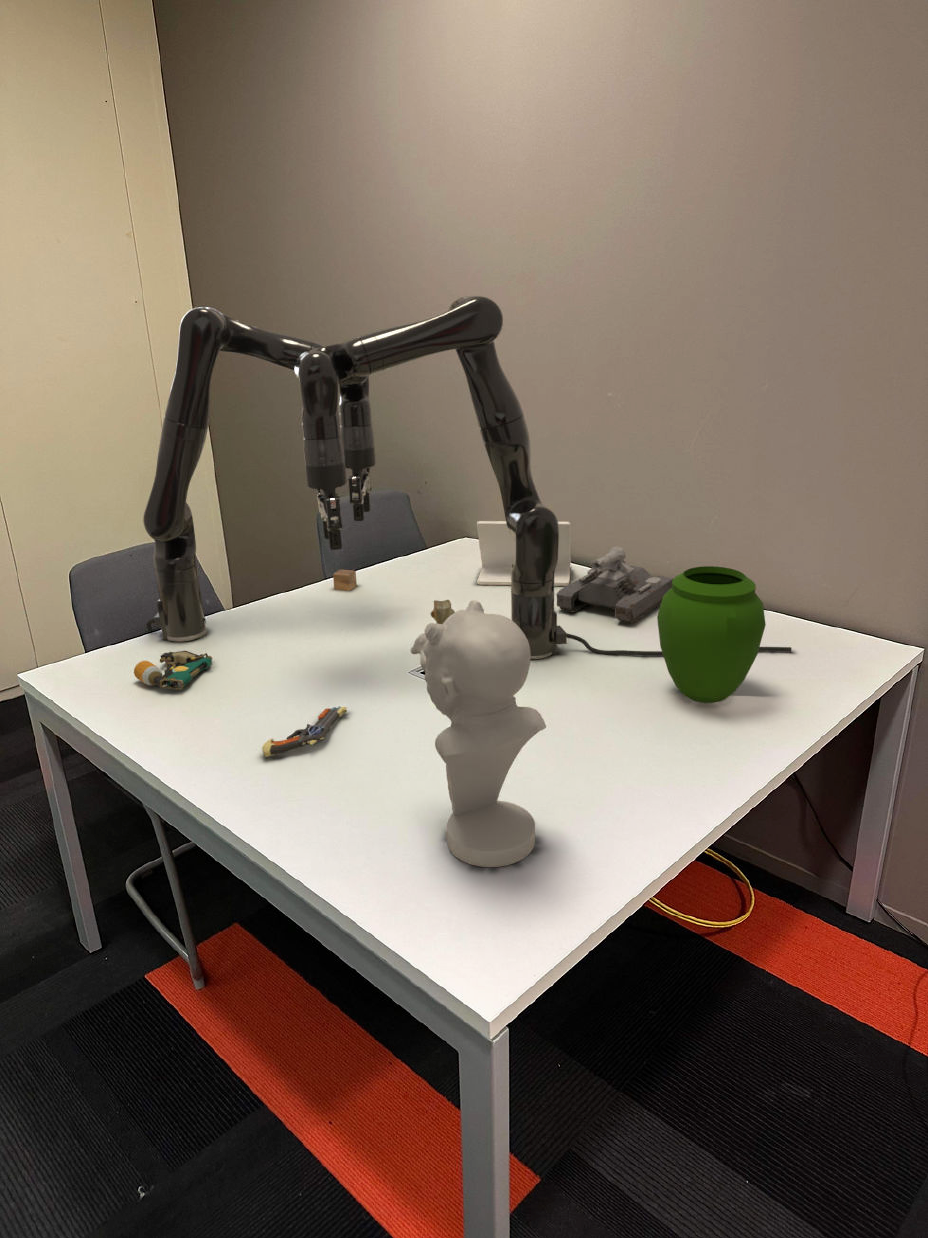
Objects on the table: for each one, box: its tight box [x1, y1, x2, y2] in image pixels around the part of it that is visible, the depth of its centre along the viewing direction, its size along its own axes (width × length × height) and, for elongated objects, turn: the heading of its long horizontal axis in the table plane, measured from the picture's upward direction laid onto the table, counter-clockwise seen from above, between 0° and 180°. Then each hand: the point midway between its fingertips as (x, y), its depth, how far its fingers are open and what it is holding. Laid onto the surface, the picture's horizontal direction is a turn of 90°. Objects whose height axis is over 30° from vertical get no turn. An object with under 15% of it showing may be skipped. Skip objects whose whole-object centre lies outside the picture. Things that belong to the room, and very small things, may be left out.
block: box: [332, 569, 358, 592], centre depth 233 cm, size 4×5×4 cm
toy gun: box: [261, 705, 348, 758], centre depth 154 cm, size 3×19×10 cm
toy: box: [556, 546, 675, 624], centre depth 212 cm, size 25×20×15 cm
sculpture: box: [430, 599, 456, 624], centre depth 177 cm, size 6×7×15 cm
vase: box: [656, 565, 767, 704], centre depth 161 cm, size 20×20×24 cm
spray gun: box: [133, 650, 213, 690], centre depth 180 cm, size 4×17×15 cm
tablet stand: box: [476, 520, 572, 587], centre depth 236 cm, size 18×25×17 cm
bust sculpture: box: [410, 599, 547, 868], centre depth 121 cm, size 16×24×35 cm
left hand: (362, 515), depth 197 cm, fingers open, 8 cm apart
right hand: (332, 543), depth 167 cm, fingers open, 8 cm apart
